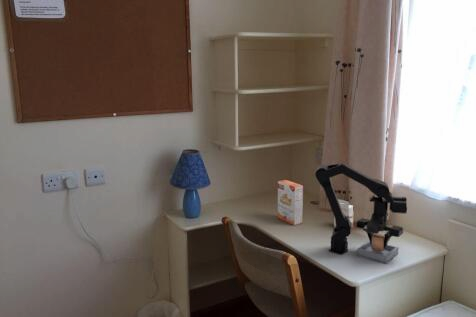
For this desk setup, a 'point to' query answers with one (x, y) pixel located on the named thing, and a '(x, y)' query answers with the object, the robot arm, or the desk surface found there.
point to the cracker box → (290, 202)
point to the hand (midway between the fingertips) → (378, 245)
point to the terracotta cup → (378, 242)
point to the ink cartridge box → (346, 210)
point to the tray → (377, 253)
